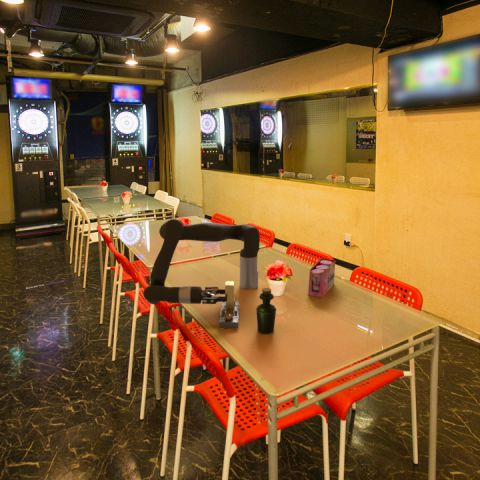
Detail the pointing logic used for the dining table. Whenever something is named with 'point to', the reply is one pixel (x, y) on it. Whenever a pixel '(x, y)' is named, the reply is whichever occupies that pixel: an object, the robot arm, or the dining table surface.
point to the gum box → (321, 277)
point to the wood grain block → (229, 297)
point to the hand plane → (229, 317)
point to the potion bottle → (266, 312)
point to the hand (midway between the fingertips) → (227, 295)
